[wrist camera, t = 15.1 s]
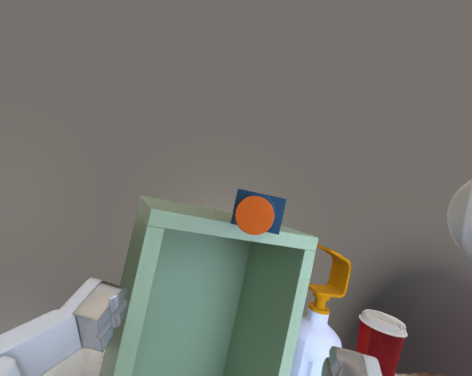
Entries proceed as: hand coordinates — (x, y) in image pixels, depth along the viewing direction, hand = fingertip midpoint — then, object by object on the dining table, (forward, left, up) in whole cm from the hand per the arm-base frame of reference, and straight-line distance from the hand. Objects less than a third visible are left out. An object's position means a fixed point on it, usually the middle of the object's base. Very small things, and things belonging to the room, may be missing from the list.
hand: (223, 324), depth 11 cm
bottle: (-7, -15, +2) cm, 16 cm away
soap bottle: (-26, -27, -25) cm, 45 cm away
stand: (-5, -21, -25) cm, 33 cm away
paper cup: (-40, -27, -25) cm, 54 cm away
